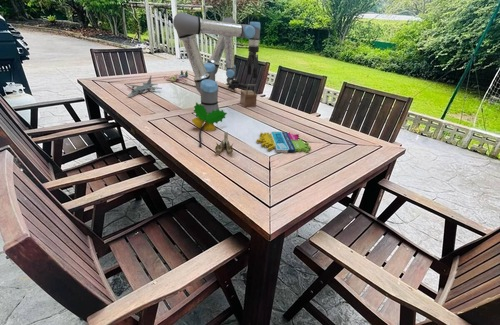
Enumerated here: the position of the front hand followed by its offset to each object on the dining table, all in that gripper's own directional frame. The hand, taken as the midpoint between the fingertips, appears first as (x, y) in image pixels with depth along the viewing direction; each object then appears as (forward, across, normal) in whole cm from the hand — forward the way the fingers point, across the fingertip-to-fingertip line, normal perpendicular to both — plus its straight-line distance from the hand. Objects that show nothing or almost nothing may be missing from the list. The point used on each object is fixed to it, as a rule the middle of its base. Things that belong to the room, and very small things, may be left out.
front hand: (251, 76), depth 199 cm
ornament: (+24, -41, +40) cm, 62 cm away
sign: (+24, -69, +3) cm, 73 cm away
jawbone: (+24, -73, +39) cm, 86 cm away
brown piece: (+15, +5, 0) cm, 16 cm away
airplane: (+24, +51, +81) cm, 99 cm away
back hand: (+17, +30, -2) cm, 34 cm away
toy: (+24, +100, +47) cm, 113 cm away
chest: (+24, +5, 0) cm, 24 cm away
